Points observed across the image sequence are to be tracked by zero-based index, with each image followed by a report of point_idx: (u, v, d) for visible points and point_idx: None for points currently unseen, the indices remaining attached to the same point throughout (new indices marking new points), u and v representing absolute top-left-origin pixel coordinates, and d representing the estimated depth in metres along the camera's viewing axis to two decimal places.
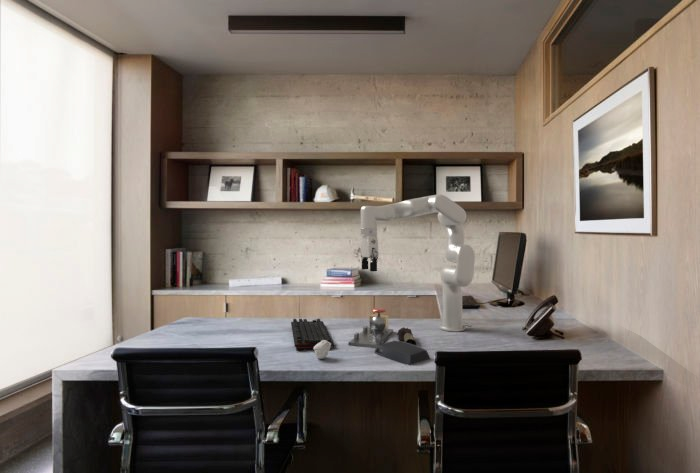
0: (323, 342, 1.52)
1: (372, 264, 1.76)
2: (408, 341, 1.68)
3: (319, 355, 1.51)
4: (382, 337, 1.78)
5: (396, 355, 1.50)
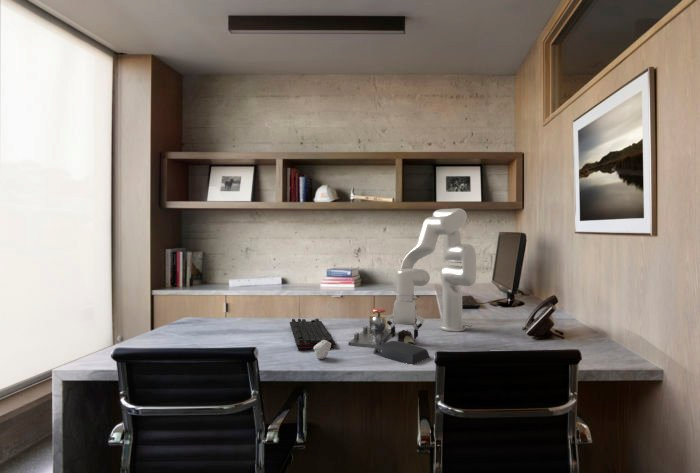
0: (323, 342, 1.52)
1: (416, 331, 1.71)
2: None
3: (319, 355, 1.51)
4: (382, 337, 1.78)
5: (398, 355, 1.50)
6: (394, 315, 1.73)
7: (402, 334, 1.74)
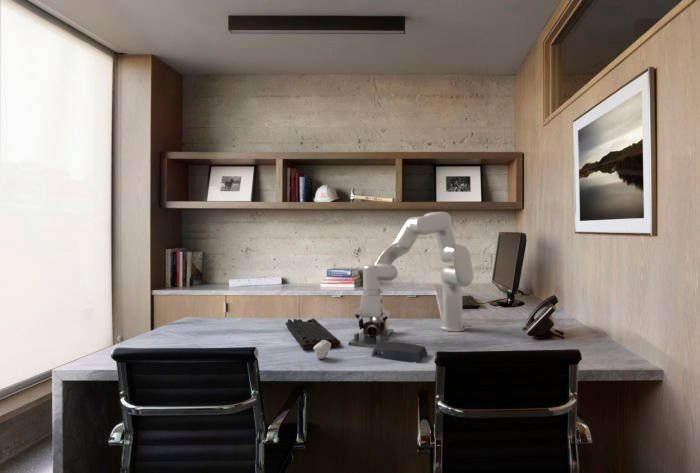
0: (323, 342, 1.52)
1: (382, 324, 1.78)
2: (370, 330, 1.72)
3: (319, 355, 1.51)
4: (382, 337, 1.78)
5: (402, 355, 1.50)
6: (361, 308, 1.80)
7: (366, 324, 1.81)
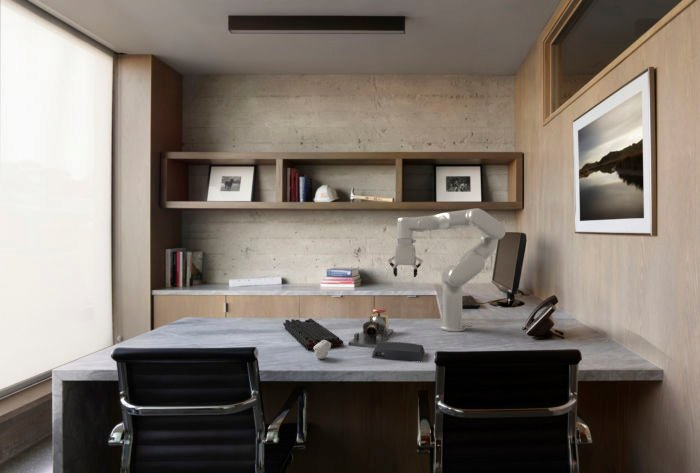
0: (323, 342, 1.52)
1: (416, 270, 1.95)
2: (369, 330, 1.72)
3: (319, 355, 1.51)
4: (382, 337, 1.78)
5: (404, 354, 1.50)
6: (396, 257, 1.97)
7: (366, 324, 1.81)
